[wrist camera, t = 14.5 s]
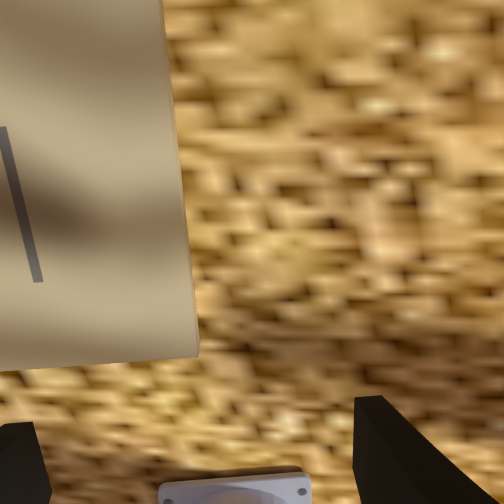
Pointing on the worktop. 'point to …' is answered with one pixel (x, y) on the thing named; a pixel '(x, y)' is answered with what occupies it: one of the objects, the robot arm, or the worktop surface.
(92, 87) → the board
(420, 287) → the worktop surface
